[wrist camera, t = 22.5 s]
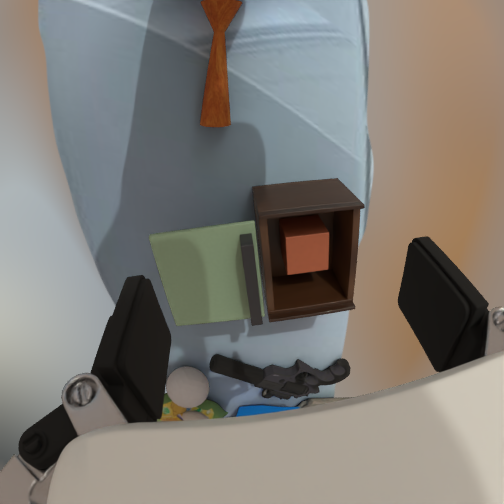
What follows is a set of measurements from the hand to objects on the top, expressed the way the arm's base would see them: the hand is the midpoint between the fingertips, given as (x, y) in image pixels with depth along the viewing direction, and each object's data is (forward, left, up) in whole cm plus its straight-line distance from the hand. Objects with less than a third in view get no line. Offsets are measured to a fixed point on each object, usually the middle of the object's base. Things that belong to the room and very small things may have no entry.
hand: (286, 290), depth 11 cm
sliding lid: (+12, -6, -19) cm, 24 cm away
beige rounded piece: (+35, -12, -24) cm, 44 cm away
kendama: (-13, -1, -28) cm, 30 cm away
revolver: (+33, +7, -26) cm, 43 cm away
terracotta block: (+12, +6, -27) cm, 30 cm away
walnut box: (+12, +6, -27) cm, 31 cm away
